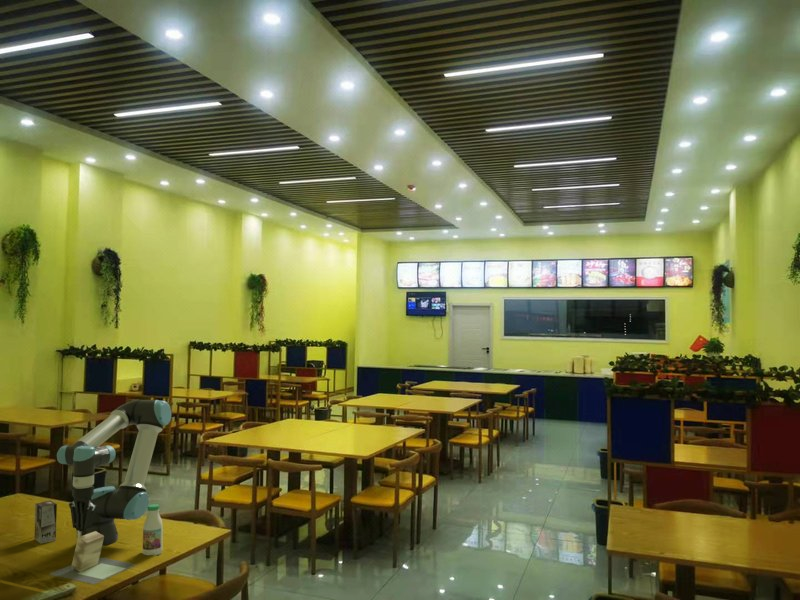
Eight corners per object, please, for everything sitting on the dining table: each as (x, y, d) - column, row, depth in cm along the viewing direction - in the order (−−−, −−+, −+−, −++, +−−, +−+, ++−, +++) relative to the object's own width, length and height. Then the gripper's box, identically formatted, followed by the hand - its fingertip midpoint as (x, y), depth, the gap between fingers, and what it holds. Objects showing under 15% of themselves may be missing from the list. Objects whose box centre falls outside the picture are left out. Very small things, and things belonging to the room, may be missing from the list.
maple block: (71, 566, 232) (77, 537, 231) (88, 559, 239) (95, 530, 239) (80, 572, 230) (86, 542, 229) (97, 564, 237) (104, 536, 237)
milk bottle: (146, 550, 255) (147, 502, 256) (164, 549, 255) (165, 502, 256) (139, 557, 247) (140, 508, 248) (158, 556, 248) (159, 507, 249)
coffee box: (56, 540, 267) (57, 503, 267) (40, 544, 262) (41, 507, 263) (49, 535, 273) (50, 499, 274) (33, 539, 268) (34, 502, 269)
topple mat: (48, 576, 228) (48, 574, 228) (93, 557, 246) (93, 555, 246) (94, 586, 219) (94, 584, 219) (137, 566, 237) (137, 564, 237)
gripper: (63, 486, 236) (61, 547, 234) (86, 490, 231) (84, 552, 229) (80, 482, 243) (78, 541, 241) (103, 485, 237) (101, 546, 236)
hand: (81, 546), depth 235 cm, fingers closed
